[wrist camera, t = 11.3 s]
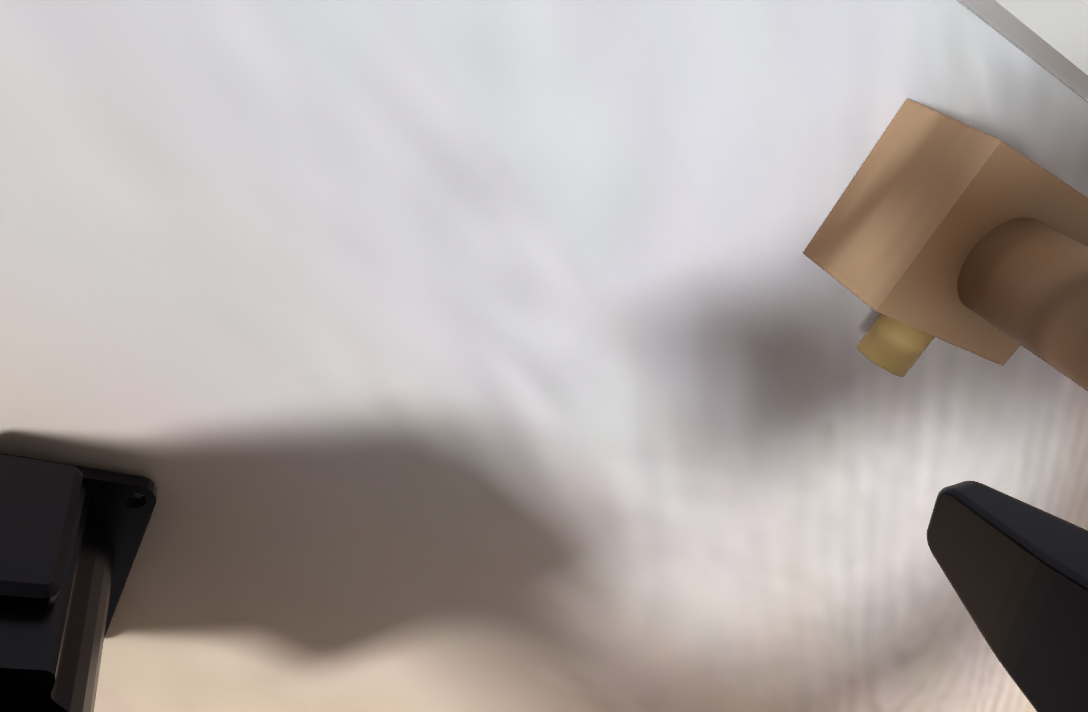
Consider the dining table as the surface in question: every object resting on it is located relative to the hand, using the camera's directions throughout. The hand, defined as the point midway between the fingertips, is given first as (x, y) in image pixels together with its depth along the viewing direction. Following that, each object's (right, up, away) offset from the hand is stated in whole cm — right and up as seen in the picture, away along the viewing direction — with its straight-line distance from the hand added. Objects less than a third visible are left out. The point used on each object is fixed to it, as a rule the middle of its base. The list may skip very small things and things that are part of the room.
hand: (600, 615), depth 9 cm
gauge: (+11, +7, +16) cm, 20 cm away
